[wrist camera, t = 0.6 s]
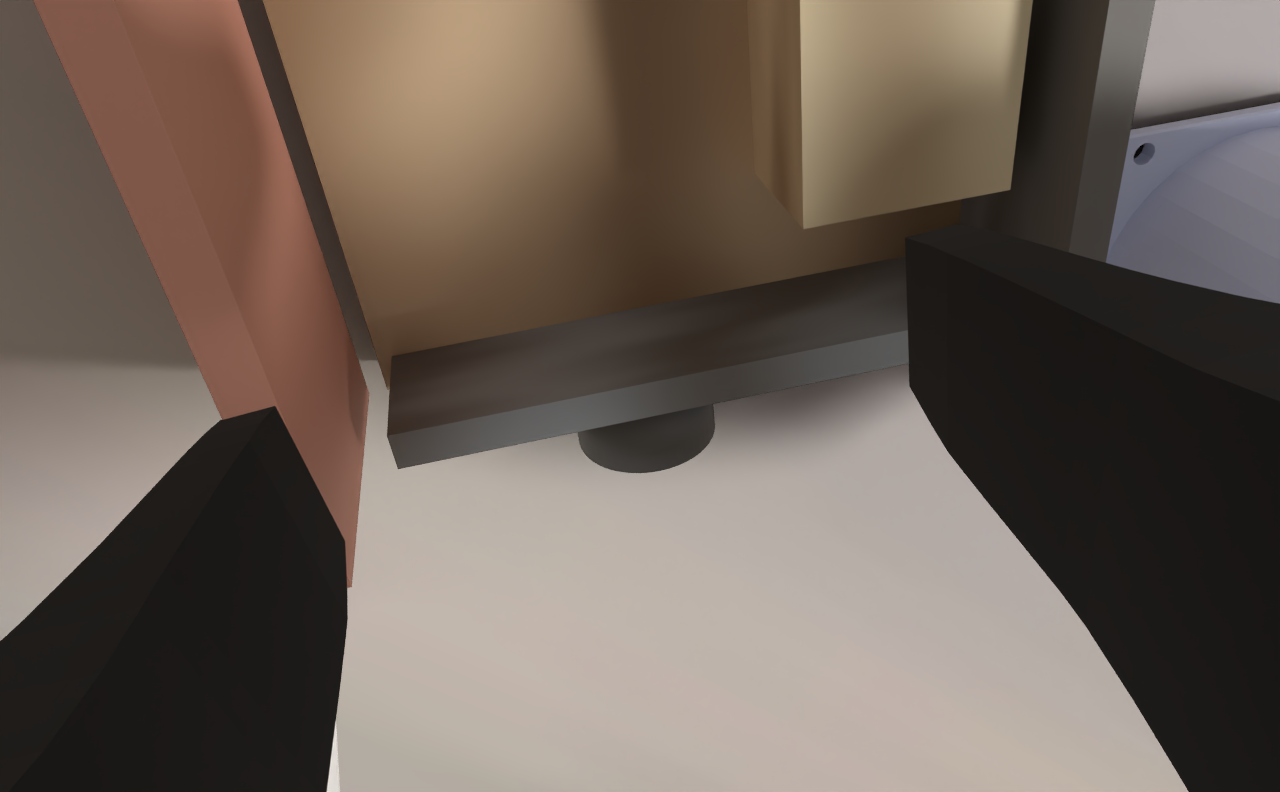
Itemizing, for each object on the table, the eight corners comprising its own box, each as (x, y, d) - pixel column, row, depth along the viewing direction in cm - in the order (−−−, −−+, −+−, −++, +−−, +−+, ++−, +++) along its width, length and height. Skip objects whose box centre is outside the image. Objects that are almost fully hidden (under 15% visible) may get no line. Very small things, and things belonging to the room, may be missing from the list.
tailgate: (174, -186, 14) (42, -175, 9) (369, 393, 20) (351, 586, 15) (121, -179, 14) (-42, -164, 9) (332, 401, 20) (302, 597, 15)
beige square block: (950, -69, 17) (1038, -46, 15) (936, 139, 20) (1010, 190, 17) (745, -35, 17) (800, -6, 15) (754, 173, 19) (803, 228, 17)
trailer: (1028, -471, 15) (1263, -573, 11) (955, 330, 24) (1070, 447, 20) (159, -371, 14) (43, -442, 10) (414, 441, 23) (411, 593, 18)
